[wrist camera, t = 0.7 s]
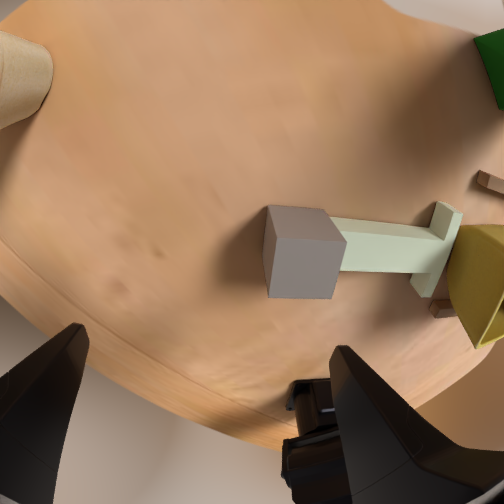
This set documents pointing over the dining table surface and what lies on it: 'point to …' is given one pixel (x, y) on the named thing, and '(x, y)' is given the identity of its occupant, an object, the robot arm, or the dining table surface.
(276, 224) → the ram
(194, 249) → the dining table surface
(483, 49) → the milk carton
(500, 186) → the bay
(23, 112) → the flower pot
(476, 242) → the flower pot
